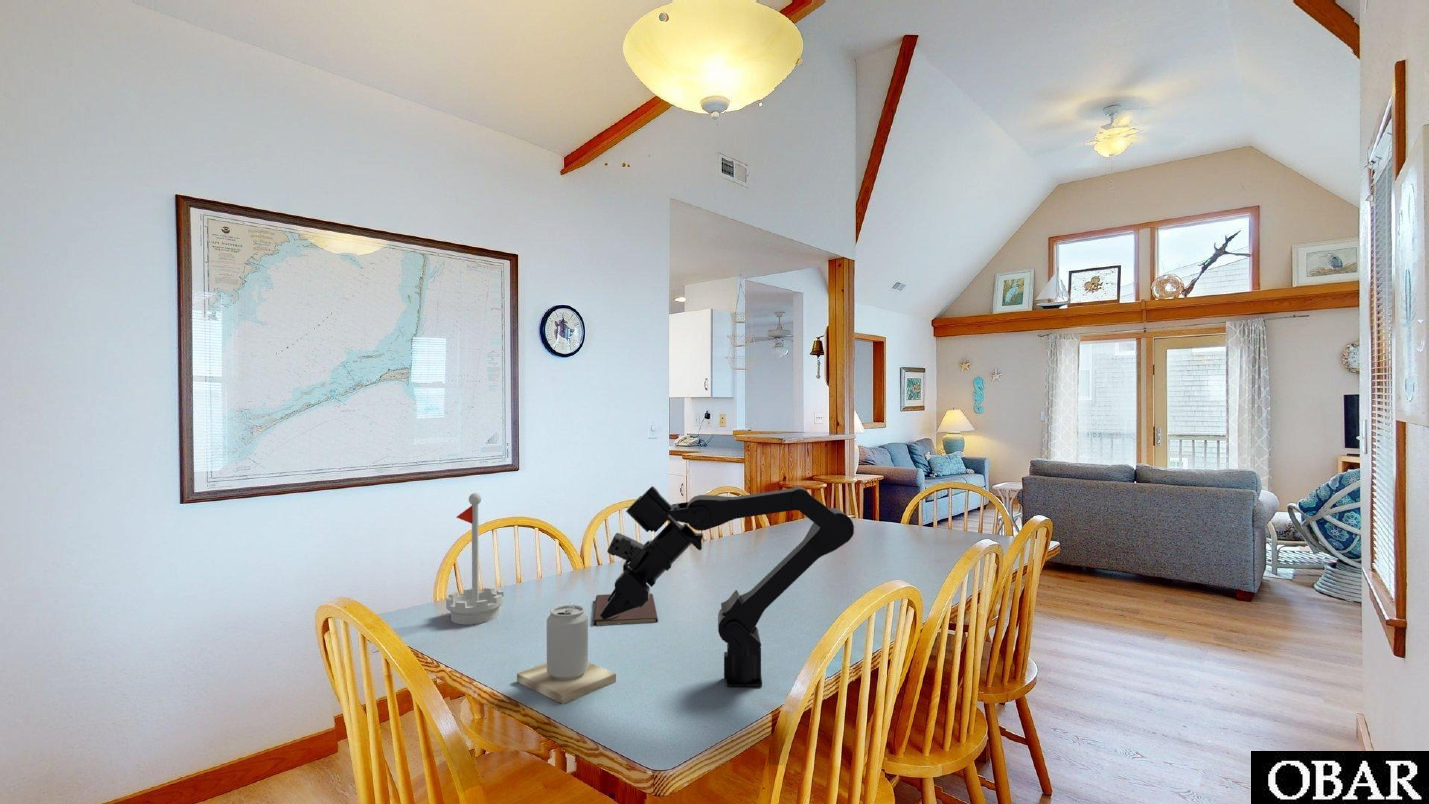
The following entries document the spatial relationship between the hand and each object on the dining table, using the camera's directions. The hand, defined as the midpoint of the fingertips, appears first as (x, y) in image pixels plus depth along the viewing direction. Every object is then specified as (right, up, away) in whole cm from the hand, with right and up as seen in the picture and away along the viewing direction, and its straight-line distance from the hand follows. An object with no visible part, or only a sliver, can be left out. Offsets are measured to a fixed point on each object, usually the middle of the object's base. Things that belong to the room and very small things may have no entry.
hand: (605, 609), depth 123 cm
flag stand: (-38, -14, +37) cm, 55 cm away
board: (-7, -13, 0) cm, 15 cm away
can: (-7, -12, 0) cm, 14 cm away
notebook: (-2, -14, +42) cm, 44 cm away
